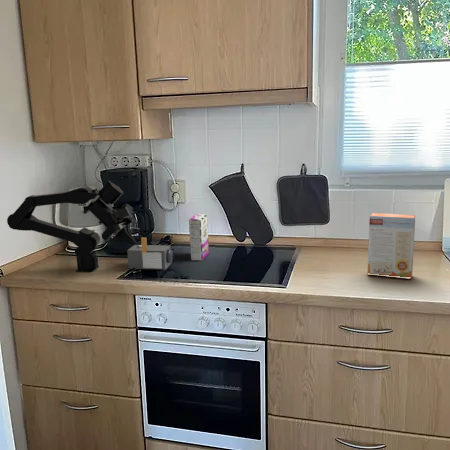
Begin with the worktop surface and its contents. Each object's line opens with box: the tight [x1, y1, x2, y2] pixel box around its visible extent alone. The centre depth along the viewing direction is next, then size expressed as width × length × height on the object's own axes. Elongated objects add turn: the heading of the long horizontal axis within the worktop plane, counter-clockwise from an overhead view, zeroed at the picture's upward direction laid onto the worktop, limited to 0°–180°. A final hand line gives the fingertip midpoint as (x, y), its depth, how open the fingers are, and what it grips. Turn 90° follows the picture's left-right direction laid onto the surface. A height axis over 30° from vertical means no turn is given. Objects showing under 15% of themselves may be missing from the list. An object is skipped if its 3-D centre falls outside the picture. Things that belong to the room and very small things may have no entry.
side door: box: [140, 236, 162, 269], centre depth 169 cm, size 7×1×11 cm, turn 81°
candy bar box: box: [188, 213, 210, 262], centre depth 185 cm, size 11×5×16 cm, turn 168°
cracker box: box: [367, 212, 416, 278], centre depth 157 cm, size 14×6×21 cm, turn 65°
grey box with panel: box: [126, 244, 174, 271], centre depth 174 cm, size 15×8×8 cm, turn 81°
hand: (135, 244), depth 169 cm, fingers closed
